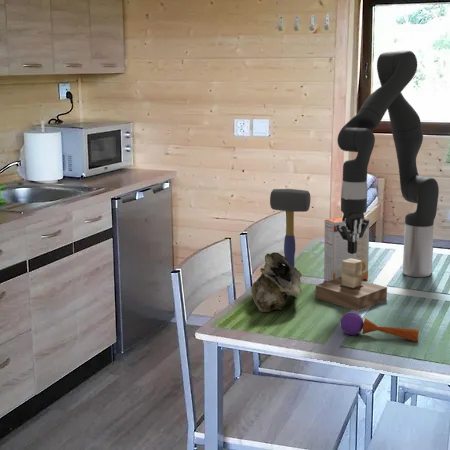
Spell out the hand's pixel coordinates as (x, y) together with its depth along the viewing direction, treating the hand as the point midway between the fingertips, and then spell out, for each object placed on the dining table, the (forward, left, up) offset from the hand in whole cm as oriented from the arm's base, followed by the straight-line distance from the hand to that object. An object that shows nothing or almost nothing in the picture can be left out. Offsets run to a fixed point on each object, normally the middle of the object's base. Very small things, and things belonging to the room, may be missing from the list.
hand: (352, 253), depth 209 cm
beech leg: (0, 0, -14) cm, 14 cm away
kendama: (+19, +24, -15) cm, 34 cm away
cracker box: (-14, -13, -15) cm, 24 cm away
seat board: (0, 0, -14) cm, 14 cm away
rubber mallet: (-3, -28, -15) cm, 32 cm away
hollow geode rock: (+16, -15, -15) cm, 26 cm away
